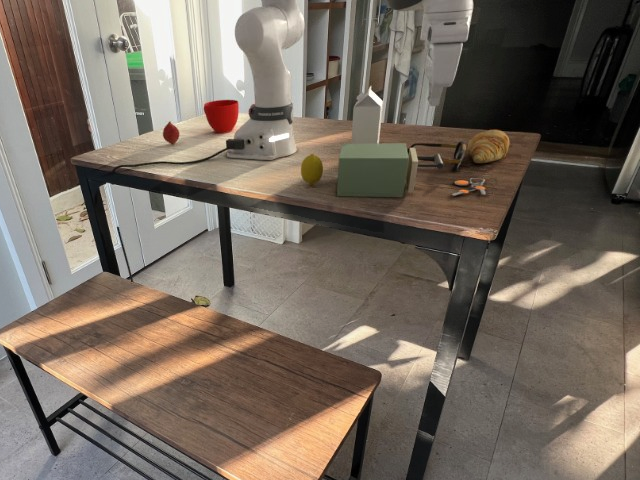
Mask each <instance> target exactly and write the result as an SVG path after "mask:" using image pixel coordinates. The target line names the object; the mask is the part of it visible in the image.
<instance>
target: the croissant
mask: <svg viewBox="0 0 640 480" xmlns="http://www.w3.org/2000/svg"><path fill="white" fill-rule="evenodd" d="M509 147H510V137H509V136H508V134H506V133H505V132H504V131H502V130H501V129H489V130H483V131H482V132H479V133H477V134H475V135H474V136H473V137H472V138H471V139H470V140H468V143H467V150H468V153H469V155H470V157H471V159H472V161H473V162H474V163H475V164H486V163H491V162H497V161H499V160H501V159H504V158H505V157H507V154H508V151H509Z"/></svg>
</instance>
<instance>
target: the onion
mask: <svg viewBox="0 0 640 480" xmlns="http://www.w3.org/2000/svg"><path fill="white" fill-rule="evenodd" d="M162 137H163V140H165V141H166V142H167V143H169V144H170V145H171V146H174V145H175V144H176V143H177V141H179V138H180V130H179V129H178V127H177V126H176V125H174V124H173V123H172V122H171V121H168V122H167V124H166V125H165V126H164V128H163V131H162Z"/></svg>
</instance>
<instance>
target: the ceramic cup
mask: <svg viewBox="0 0 640 480" xmlns="http://www.w3.org/2000/svg"><path fill="white" fill-rule="evenodd" d="M239 105H240V104H239V101H238V100H235V99H218V100H211V101H208V102H205V103H204V104H203V112H204V114H205V118H206V122H207V123H208V126H209V127H210V128H211V129H212V130H213V131H214V132H215V133H216V134H226V133H230V132H232V131H233V130H234V128H235V126H236V125H237V123H238V119H239V114H240V113H239V112H240V111H239V108H240V106H239Z"/></svg>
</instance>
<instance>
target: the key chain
mask: <svg viewBox="0 0 640 480" xmlns="http://www.w3.org/2000/svg"><path fill="white" fill-rule="evenodd" d="M472 180H477V181H481V182H475V183H474V182H472ZM485 181H486V179H484V178H477V177H476V178H475V177H471V178H469V181H468V180H462V179H459V180H455V181H454V184H455V186H456V185H457V186H461V187H465V186H466V187H467V186H469V185H470V187H471V188H472V189H459V190H458V191H457V192H454V193H452V194H451V196H453V197H455V196H459V195H461V194H469V192H474V191H476V190H478V191H479V192H480V194H481V195H482V196H486V195H487V193H486V186H485V187H484V186H483V185H484V183H485Z"/></svg>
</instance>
